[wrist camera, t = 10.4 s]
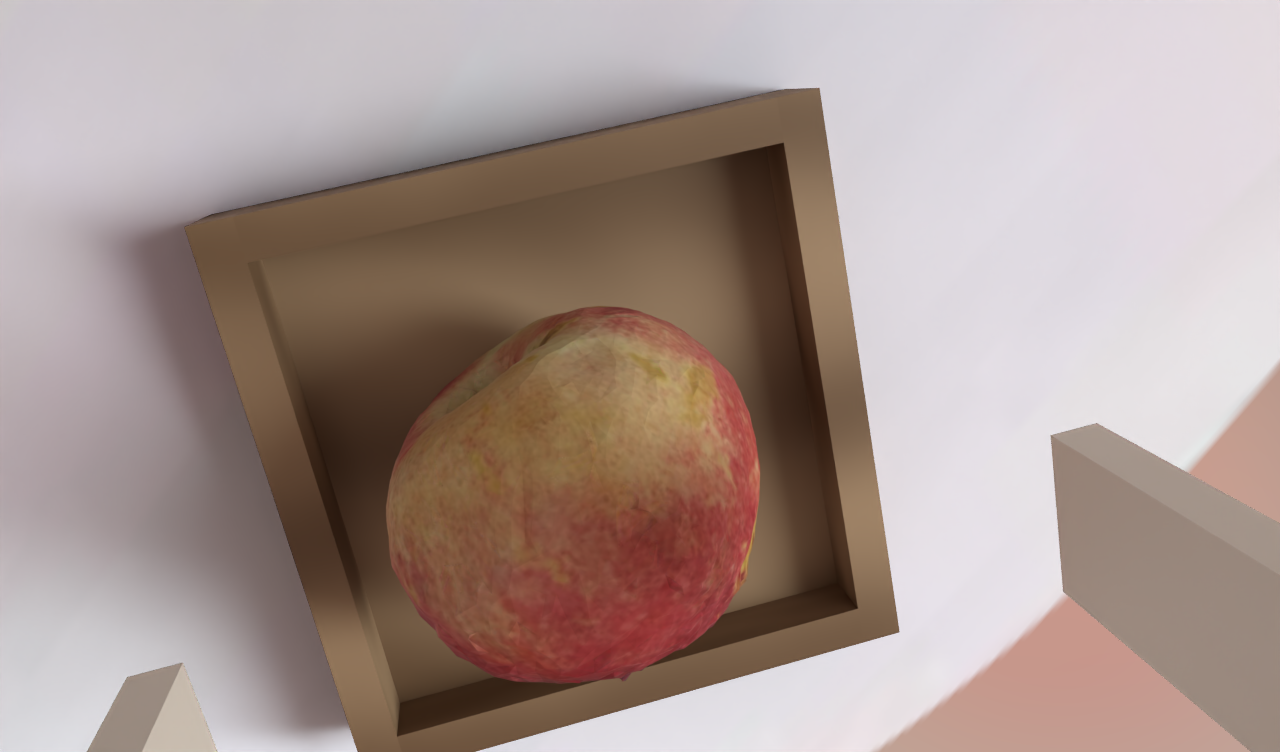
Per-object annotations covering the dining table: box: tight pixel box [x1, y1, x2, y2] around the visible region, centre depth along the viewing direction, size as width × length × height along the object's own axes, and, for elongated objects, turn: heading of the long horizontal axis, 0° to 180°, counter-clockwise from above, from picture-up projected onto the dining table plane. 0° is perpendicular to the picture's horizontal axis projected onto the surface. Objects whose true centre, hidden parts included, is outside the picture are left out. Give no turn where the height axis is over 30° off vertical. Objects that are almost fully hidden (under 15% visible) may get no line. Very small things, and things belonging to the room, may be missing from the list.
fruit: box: [386, 306, 760, 684], centre depth 22 cm, size 8×8×8 cm
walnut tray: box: [184, 88, 899, 752], centre depth 26 cm, size 14×14×2 cm
